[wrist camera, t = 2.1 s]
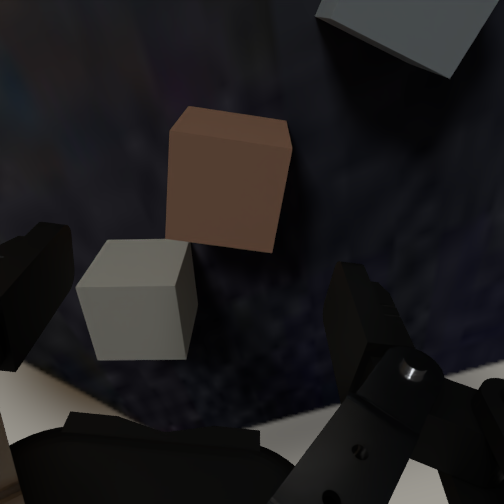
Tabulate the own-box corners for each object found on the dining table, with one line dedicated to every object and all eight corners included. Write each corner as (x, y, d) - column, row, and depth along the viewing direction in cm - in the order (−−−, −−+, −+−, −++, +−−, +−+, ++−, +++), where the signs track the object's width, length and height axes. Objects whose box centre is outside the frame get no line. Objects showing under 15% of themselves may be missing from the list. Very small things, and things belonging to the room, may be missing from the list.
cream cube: (190, 237, 25) (174, 285, 20) (198, 304, 27) (186, 359, 23) (107, 239, 25) (75, 287, 20) (123, 305, 27) (97, 360, 23)
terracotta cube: (286, 120, 21) (292, 148, 17) (270, 208, 24) (272, 253, 19) (188, 105, 21) (169, 130, 16) (183, 196, 23) (165, 238, 19)
